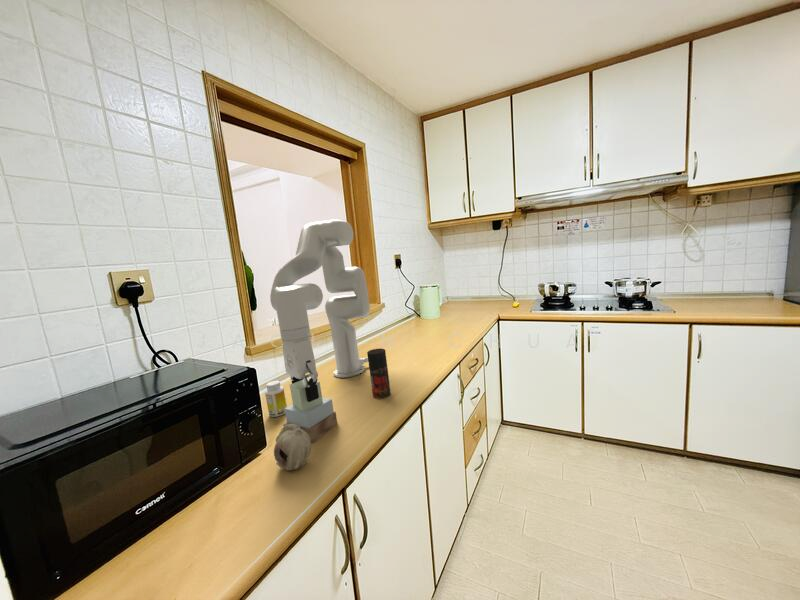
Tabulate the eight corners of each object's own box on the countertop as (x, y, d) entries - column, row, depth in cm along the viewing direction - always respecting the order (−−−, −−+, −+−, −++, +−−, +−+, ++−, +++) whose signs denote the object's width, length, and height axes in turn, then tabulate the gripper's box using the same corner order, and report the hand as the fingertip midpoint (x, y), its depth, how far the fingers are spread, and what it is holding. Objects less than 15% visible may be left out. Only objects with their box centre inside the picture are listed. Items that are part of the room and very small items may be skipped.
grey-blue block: (312, 407, 97) (309, 394, 96) (333, 412, 92) (331, 399, 91) (286, 422, 89) (284, 408, 89) (308, 428, 84) (306, 414, 84)
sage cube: (312, 396, 94) (309, 377, 93) (322, 402, 90) (319, 381, 89) (293, 405, 90) (289, 384, 89) (302, 411, 86) (298, 389, 85)
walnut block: (311, 419, 97) (309, 407, 97) (337, 424, 93) (335, 411, 92) (285, 438, 89) (283, 424, 88) (312, 444, 84) (310, 430, 83)
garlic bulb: (283, 456, 80) (276, 418, 78) (318, 450, 80) (311, 412, 79) (270, 482, 70) (262, 439, 69) (310, 476, 71) (303, 433, 69)
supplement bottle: (289, 408, 107) (284, 378, 105) (285, 416, 101) (279, 385, 100) (272, 410, 106) (266, 380, 105) (266, 419, 101) (261, 387, 99)
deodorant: (369, 396, 108) (363, 352, 106) (382, 389, 112) (376, 347, 110) (381, 400, 104) (375, 355, 102) (394, 393, 108) (388, 349, 106)
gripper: (269, 333, 91) (280, 393, 93) (296, 341, 78) (307, 410, 80) (295, 327, 96) (304, 384, 98) (324, 333, 83) (334, 398, 85)
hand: (306, 395), depth 89 cm, fingers open, 7 cm apart
